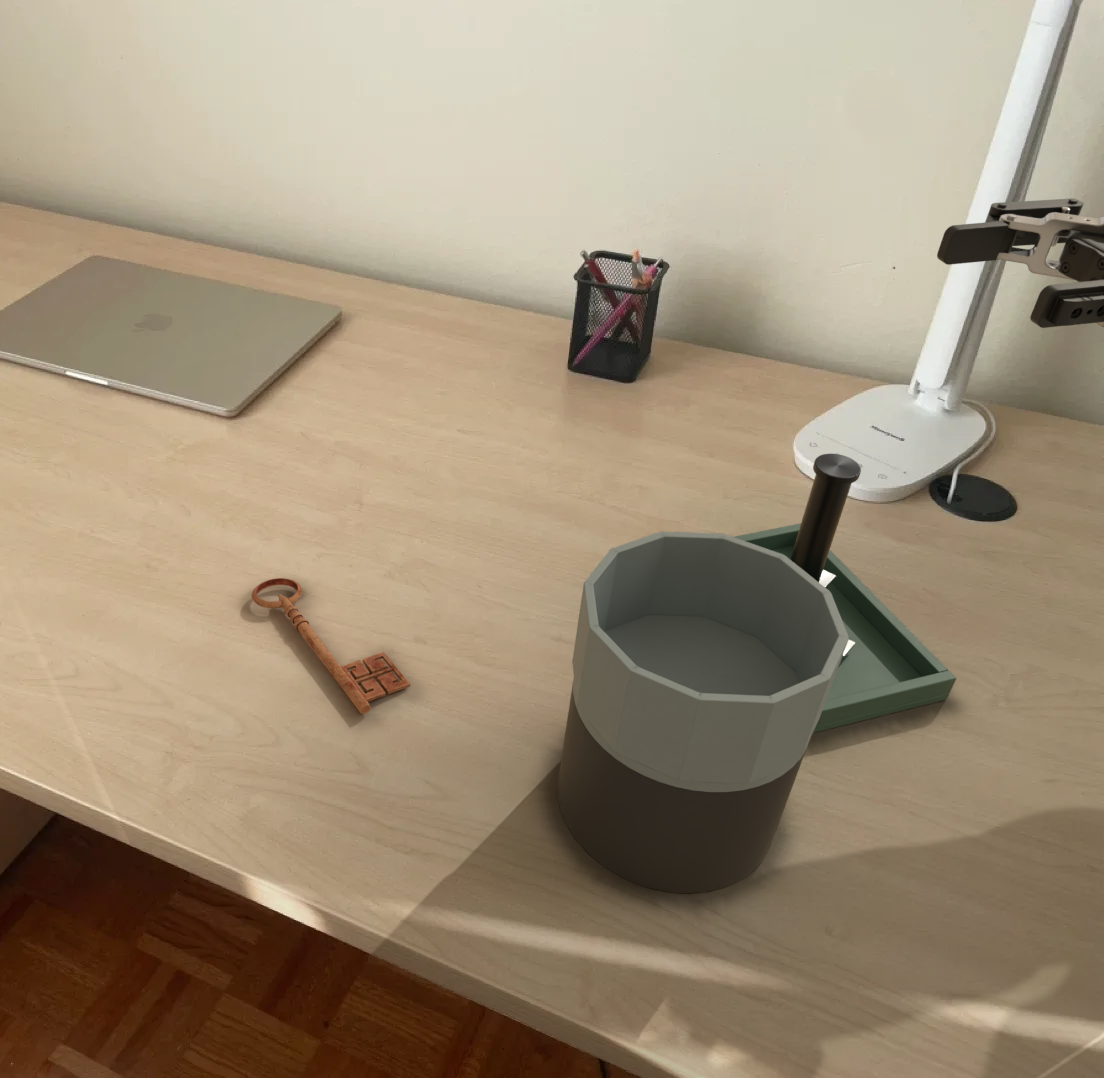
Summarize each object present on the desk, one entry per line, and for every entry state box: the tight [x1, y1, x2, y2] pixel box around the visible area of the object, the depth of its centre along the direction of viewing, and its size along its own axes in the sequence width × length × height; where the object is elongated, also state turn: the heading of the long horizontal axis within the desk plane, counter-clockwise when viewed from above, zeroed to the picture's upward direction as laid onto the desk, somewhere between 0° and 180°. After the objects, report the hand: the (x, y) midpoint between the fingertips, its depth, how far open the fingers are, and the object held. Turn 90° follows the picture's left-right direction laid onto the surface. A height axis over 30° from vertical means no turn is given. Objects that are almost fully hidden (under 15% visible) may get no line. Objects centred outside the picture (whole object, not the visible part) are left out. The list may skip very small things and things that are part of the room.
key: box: [251, 577, 411, 715], centre depth 76 cm, size 6×1×15 cm
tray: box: [733, 522, 957, 734], centre depth 76 cm, size 18×14×2 cm
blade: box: [790, 453, 862, 658], centre depth 72 cm, size 9×9×14 cm
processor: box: [557, 531, 849, 894], centre depth 60 cm, size 13×13×16 cm
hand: (989, 275), depth 60 cm, fingers open, 8 cm apart
